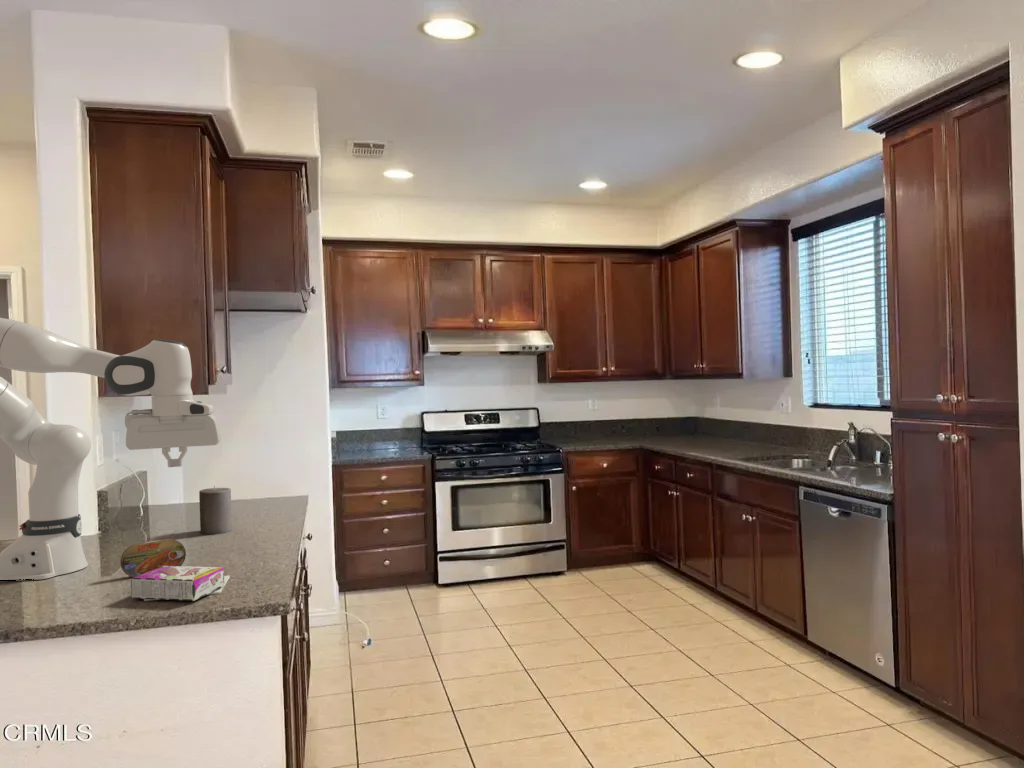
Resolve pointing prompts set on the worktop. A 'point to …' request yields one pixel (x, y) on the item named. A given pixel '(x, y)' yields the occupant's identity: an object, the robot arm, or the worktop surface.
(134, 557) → the tin
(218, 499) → the pillar candle
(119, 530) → the worktop surface
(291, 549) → the worktop surface
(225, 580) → the mat
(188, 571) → the candy bar box
